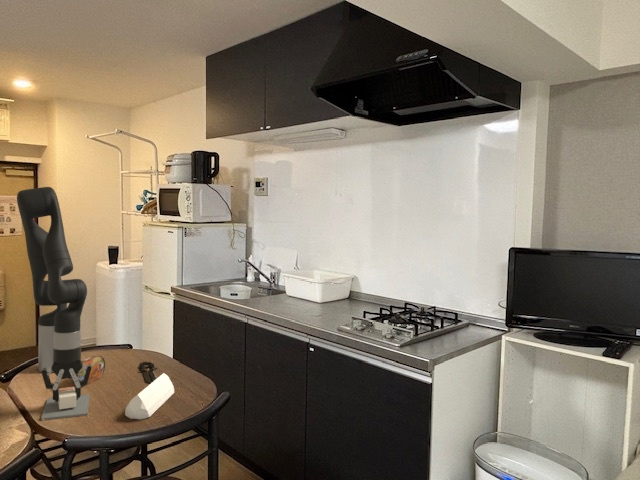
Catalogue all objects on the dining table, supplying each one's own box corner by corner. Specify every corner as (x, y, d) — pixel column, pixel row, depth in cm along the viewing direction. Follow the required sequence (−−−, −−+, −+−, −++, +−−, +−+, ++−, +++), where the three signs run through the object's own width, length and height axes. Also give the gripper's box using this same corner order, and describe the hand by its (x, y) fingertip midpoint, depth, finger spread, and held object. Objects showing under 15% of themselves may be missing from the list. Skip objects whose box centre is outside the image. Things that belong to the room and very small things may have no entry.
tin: (77, 389, 166) (78, 365, 165) (69, 388, 166) (69, 364, 166) (105, 375, 180) (106, 352, 180) (98, 374, 181) (98, 352, 180)
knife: (158, 386, 173) (158, 382, 173) (138, 387, 171) (138, 383, 170) (156, 364, 196) (156, 360, 196) (138, 365, 194) (138, 361, 194)
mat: (47, 399, 156) (47, 398, 156) (89, 395, 161) (89, 393, 161) (41, 420, 141) (41, 418, 141) (87, 415, 146) (87, 413, 146)
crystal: (150, 379, 168) (115, 407, 144) (168, 369, 167) (136, 396, 143) (160, 398, 168) (127, 429, 144) (178, 389, 167) (148, 418, 143)
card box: (59, 409, 146) (59, 397, 146) (57, 400, 153) (57, 388, 153) (76, 406, 149) (76, 394, 148) (73, 397, 155) (74, 386, 155)
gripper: (38, 350, 144) (38, 407, 145) (92, 346, 149) (92, 402, 150) (42, 343, 151) (41, 398, 152) (93, 340, 156) (93, 393, 157)
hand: (66, 399), depth 151 cm, fingers closed on card box, 5 cm apart
